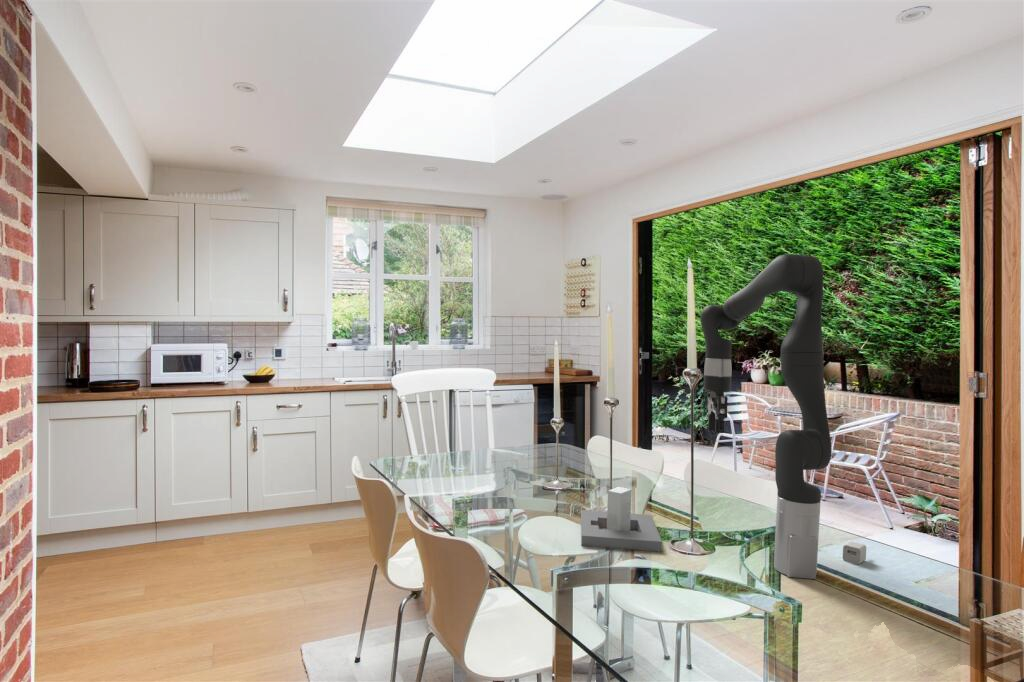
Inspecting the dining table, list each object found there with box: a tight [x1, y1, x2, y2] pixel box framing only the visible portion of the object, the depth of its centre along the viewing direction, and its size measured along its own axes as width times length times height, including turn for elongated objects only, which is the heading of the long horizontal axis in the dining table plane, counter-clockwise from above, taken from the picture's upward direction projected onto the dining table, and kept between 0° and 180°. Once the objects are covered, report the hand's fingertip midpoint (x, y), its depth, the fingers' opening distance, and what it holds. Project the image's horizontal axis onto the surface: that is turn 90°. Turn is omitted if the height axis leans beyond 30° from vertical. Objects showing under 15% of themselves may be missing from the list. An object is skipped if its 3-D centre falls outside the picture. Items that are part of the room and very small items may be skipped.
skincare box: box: [606, 486, 632, 532], centre depth 166 cm, size 6×4×12 cm
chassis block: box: [580, 509, 663, 553], centre depth 166 cm, size 22×20×2 cm
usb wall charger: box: [842, 541, 867, 565], centre depth 154 cm, size 4×7×4 cm, turn 134°
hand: (715, 430), depth 177 cm, fingers open, 8 cm apart
